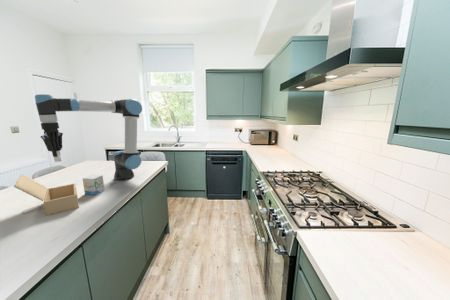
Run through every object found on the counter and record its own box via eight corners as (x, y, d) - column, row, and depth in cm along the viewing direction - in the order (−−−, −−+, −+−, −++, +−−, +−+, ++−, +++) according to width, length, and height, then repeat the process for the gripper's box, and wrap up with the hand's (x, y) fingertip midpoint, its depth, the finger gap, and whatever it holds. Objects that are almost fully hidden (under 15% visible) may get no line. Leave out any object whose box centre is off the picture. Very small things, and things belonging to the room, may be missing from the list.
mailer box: (77, 194, 130) (75, 183, 128) (78, 207, 113) (76, 194, 111) (49, 200, 121) (46, 188, 120) (46, 215, 104) (43, 202, 102)
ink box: (94, 195, 129) (92, 179, 126) (84, 194, 130) (81, 178, 128) (105, 190, 137) (102, 174, 134) (95, 189, 138) (92, 174, 136)
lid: (22, 174, 111) (21, 175, 111) (14, 185, 95) (13, 186, 94) (46, 187, 119) (45, 188, 119) (43, 200, 102) (42, 201, 102)
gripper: (52, 121, 116) (60, 158, 122) (32, 123, 104) (42, 164, 109) (64, 121, 117) (72, 158, 122) (46, 123, 104) (55, 164, 109)
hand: (58, 161), depth 116 cm, fingers closed
